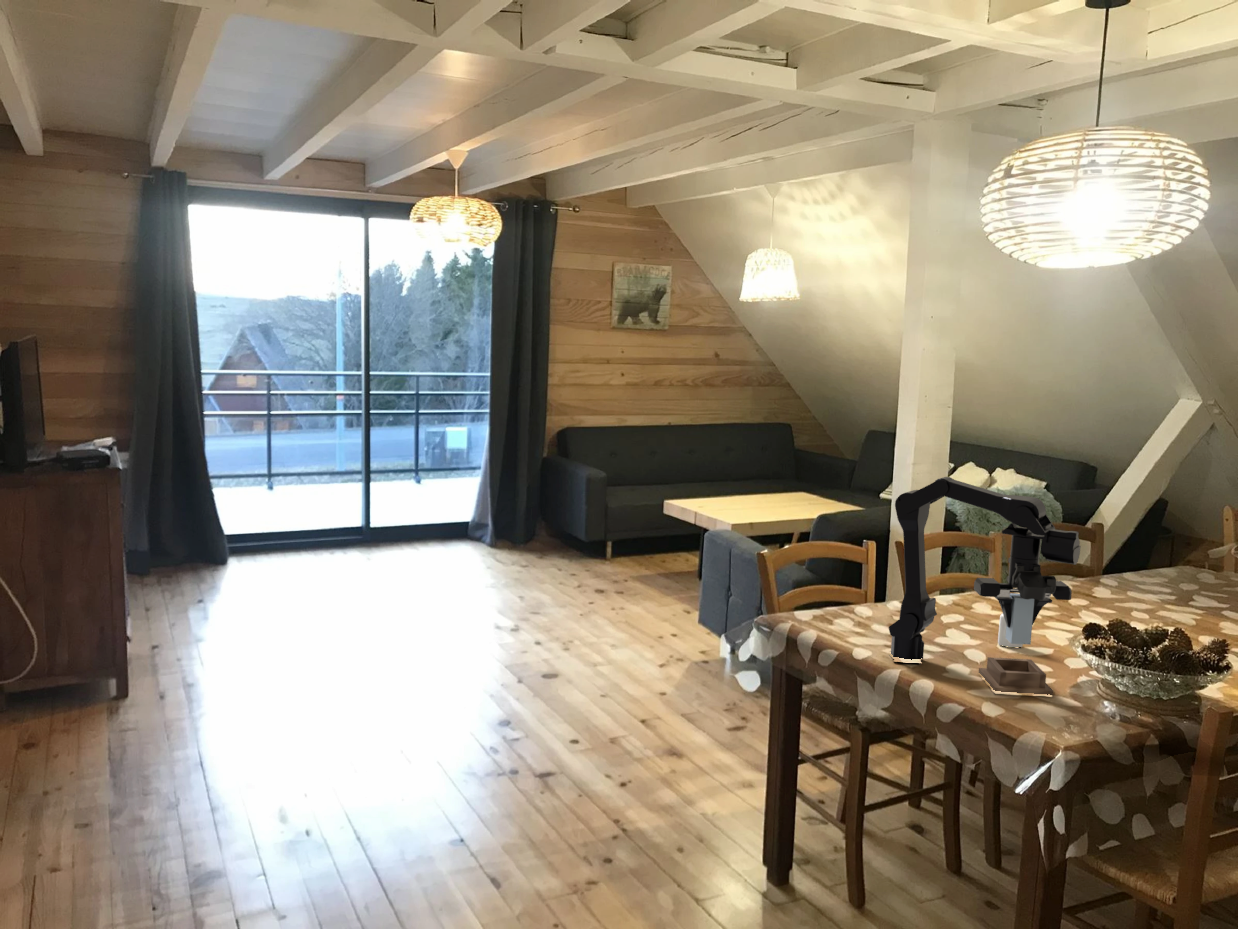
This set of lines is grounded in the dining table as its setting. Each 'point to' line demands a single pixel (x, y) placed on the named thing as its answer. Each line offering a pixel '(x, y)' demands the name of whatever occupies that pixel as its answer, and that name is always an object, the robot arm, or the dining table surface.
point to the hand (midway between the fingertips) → (1018, 627)
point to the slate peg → (1020, 620)
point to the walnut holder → (1015, 676)
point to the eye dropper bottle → (1004, 634)
